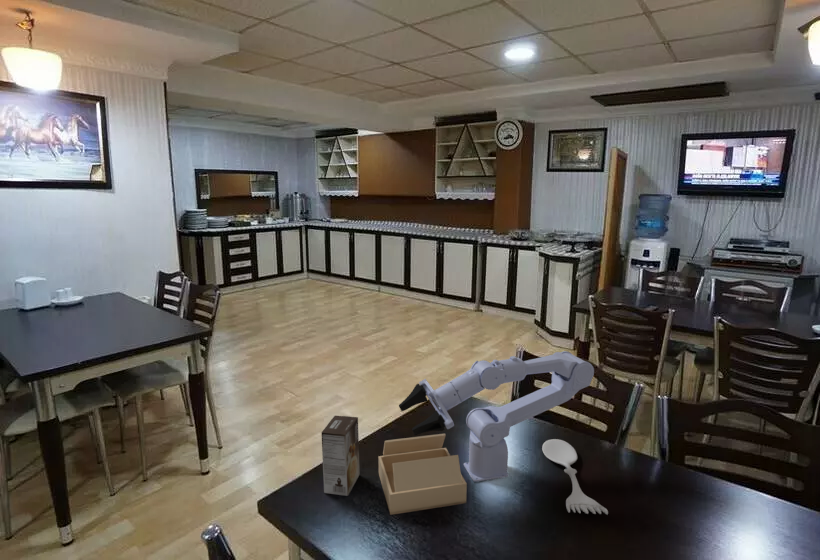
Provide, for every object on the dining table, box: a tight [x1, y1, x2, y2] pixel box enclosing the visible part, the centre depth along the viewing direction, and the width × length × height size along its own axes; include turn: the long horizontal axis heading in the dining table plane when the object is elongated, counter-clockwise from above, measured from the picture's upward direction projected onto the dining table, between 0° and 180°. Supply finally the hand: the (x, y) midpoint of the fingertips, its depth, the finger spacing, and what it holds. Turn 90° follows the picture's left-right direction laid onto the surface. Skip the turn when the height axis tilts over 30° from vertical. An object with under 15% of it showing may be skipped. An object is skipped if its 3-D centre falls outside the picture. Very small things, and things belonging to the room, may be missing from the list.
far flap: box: [382, 433, 446, 456], centre depth 119 cm, size 16×6×1 cm
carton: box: [377, 447, 468, 516], centre depth 114 cm, size 18×16×5 cm
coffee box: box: [321, 415, 361, 497], centre depth 115 cm, size 9×6×16 cm
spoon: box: [541, 438, 609, 516], centre depth 118 cm, size 9×32×4 cm, turn 175°
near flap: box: [392, 454, 462, 492], centre depth 107 cm, size 16×6×1 cm
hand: (406, 420), depth 113 cm, fingers open, 7 cm apart
